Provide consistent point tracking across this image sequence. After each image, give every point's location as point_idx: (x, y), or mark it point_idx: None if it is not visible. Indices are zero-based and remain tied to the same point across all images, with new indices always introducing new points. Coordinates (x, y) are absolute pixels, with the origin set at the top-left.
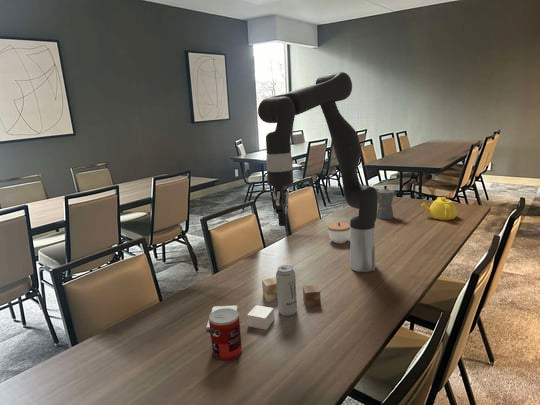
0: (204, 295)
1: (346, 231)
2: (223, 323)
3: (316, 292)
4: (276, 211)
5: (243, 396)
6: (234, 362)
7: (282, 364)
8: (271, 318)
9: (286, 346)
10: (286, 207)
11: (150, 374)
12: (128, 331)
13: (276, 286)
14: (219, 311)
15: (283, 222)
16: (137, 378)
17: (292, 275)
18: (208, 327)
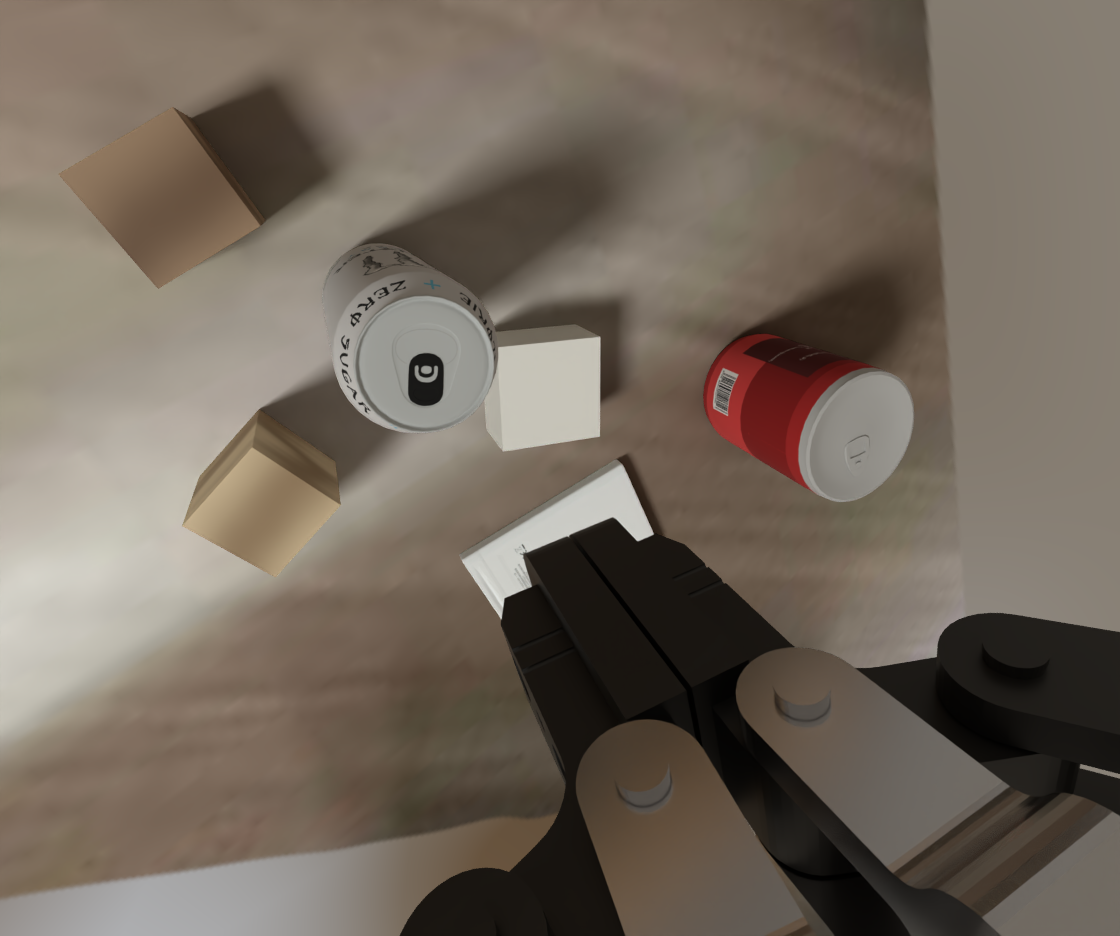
0: (425, 746)
1: None
2: (911, 399)
3: (197, 138)
4: (1098, 784)
5: (924, 196)
6: (793, 324)
7: (770, 129)
8: (518, 335)
9: (661, 165)
10: (688, 876)
11: (876, 520)
12: None
13: (279, 457)
14: (829, 481)
15: (693, 565)
16: (892, 536)
17: (440, 278)
18: None
